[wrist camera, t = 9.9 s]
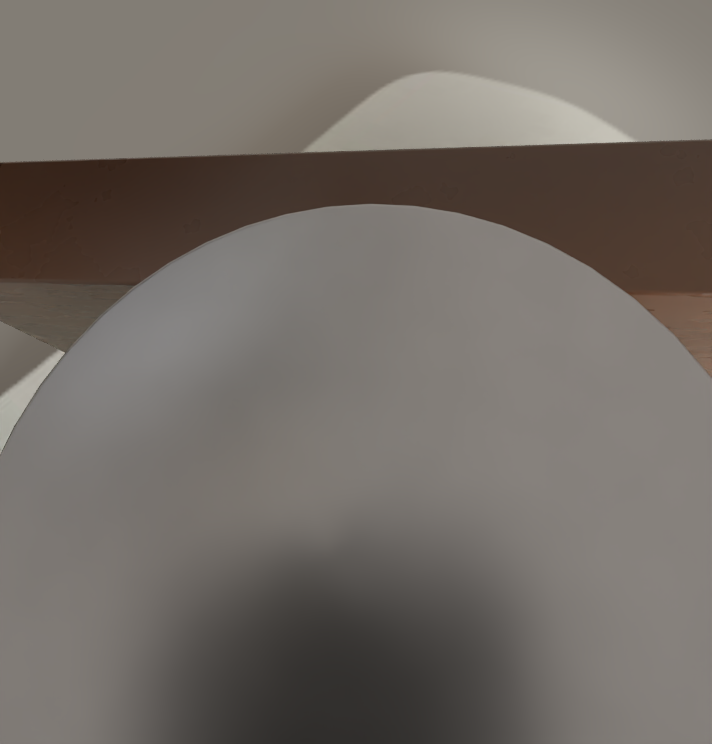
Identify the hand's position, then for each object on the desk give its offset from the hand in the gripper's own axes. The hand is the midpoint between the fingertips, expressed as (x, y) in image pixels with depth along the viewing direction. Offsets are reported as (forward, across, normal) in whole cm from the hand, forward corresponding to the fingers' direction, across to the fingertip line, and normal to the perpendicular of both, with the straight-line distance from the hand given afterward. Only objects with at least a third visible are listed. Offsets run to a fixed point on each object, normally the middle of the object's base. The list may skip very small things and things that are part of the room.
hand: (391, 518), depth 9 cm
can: (+4, 0, +5) cm, 7 cm away
